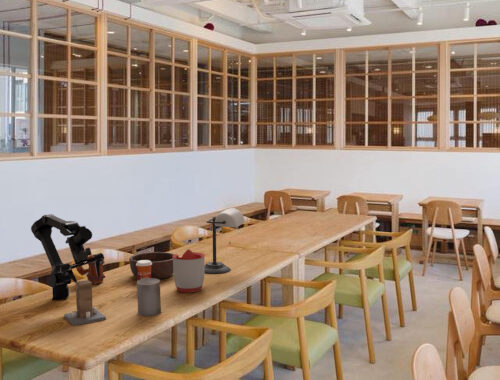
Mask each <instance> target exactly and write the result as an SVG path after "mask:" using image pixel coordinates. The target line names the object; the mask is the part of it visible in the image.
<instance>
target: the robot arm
mask: <svg viewBox="0 0 500 380" xmlns="http://www.w3.org/2000/svg"><path fill="white" fill-rule="evenodd" d="M53 228H55V229H57V230H59V233H60V234H61V235H62V236H64V237H66V240H65V242H64V243H65V244H68V246H69V249H70V253H71V256H72V259H73V261H74V263H72V264H70V263H64V262H63V261H62V259H61V256H60V255H59V252H58V249H57V247H56V245H55V243H54V240H53V239H52V232H53ZM30 231H31V233H32V234H33V236H34V238H35V239H37V240H38V241H40V243H41V245H42V248H43V250H44V252H45V255H46V257H47V259H48V262H49V264H50V265H51V270H50V271H51V272H50V278H49V279H48V285H49V287H52V289H51V290H52V298H51V300H53V301H54V300H59V301H60V300H67V299H68V298H69V296H70V286H68V285H70V284H71V283H72V280H73V282H74V283H75V284H76V282H78V280H77V278H76V276H75V274H74V272H73V269H76V267H79V266H82V267H83V266H85V265H88V264H89V263H92V262H95V268H96V273H97V276H98V279H99V265H100V264H101V263H102V261H104V262H105V255H104V253H102V252H99V253H95V254H96V255H94V256H93V258H90V259H88V256H90V255H93V254H92V251H91V248H90V247H86V248H85V246H84V245H85V244H86V243H88V242H89V241H90V240H91V239H92V238H93V232H92V231H91V230H90V229H89V228H87V227H86V225H80V224H79V223H78V221H75V220H74V221H73V220H69V221H68V220H64V219H63V218H60V217H59V216H56V215H54V214H52V213H49V214H44V215H42V216H41V217H40V218H39V219H37V220H35V221H34V222H33V224H32V225H31V226H30ZM78 264H80V265H78Z"/></svg>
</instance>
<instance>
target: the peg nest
mask: <svg viewBox="0 0 500 380" xmlns="http://www.w3.org/2000/svg"><path fill="white" fill-rule="evenodd" d="M64 318H65V319H66V320H67V321H68V323H71V325H72V326H79V325H80V326H81V325H85V324H90V323H95V322H101V321H106V319H107V317H106V316H105V315H104V314H103V313H101V312H100V311H99V310H98V307H97V306H93V316H90V312H86V317H85V318H80V317H79V316H78V315H77V310H73V311H71V312H69V313H64Z"/></svg>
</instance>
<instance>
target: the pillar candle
mask: <svg viewBox="0 0 500 380" xmlns="http://www.w3.org/2000/svg"><path fill="white" fill-rule="evenodd" d="M136 293H137V295H136V296H137V314H138V315H140V316H143V317H146V316H148V317H149V316H150V317H151V316H156V315H159V314H160V313H162V304H161V303H162V302H161V300H162V299H161V298H162V297H161V279H155V278H146V279H141V280H138V279H137V281H136Z"/></svg>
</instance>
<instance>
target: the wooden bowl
mask: <svg viewBox="0 0 500 380" xmlns="http://www.w3.org/2000/svg"><path fill="white" fill-rule="evenodd" d="M174 254H175V253H171V252H167V251H166V252H165V251H162V252H161V251H151V252H140V253H136V254H132V255H131V256H130V257H129V258H128V260H129V266H130V271H131V273H132V275H133V276H134V278H136V279H138V276H137V265H136V264H137V261H140V260H149V261H151V262H152V265H151V278H155V279H159V280H163V279H168V278H171V276H174V275H173V257H172V256H173V255H174Z"/></svg>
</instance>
